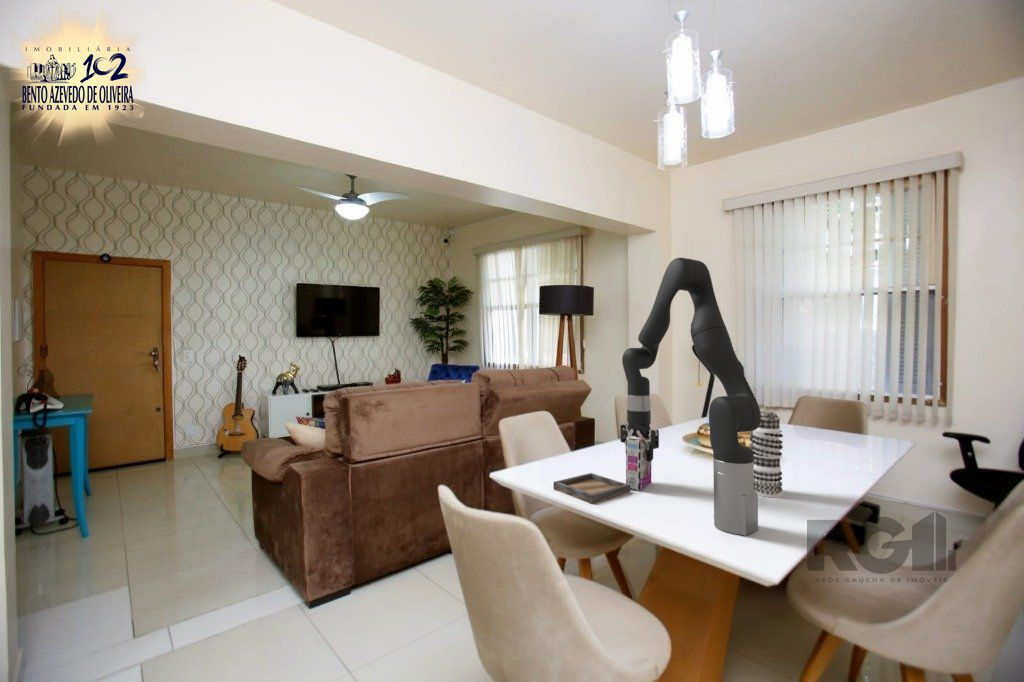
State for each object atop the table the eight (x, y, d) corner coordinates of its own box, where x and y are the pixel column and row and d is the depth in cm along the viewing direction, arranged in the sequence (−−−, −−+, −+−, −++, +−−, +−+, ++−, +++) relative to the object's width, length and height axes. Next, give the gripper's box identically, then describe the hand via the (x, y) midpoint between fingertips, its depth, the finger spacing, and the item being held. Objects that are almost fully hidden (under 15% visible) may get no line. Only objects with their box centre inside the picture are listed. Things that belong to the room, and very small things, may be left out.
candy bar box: (640, 492, 144) (640, 439, 144) (625, 489, 147) (625, 438, 147) (652, 483, 153) (652, 434, 153) (638, 480, 156) (637, 432, 156)
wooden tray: (630, 492, 143) (630, 485, 143) (591, 503, 133) (591, 496, 133) (591, 479, 157) (591, 472, 157) (553, 489, 147) (553, 481, 147)
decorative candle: (786, 492, 142) (785, 412, 143) (779, 499, 136) (778, 415, 136) (754, 486, 149) (753, 409, 149) (746, 493, 142) (745, 412, 142)
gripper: (664, 410, 146) (664, 461, 146) (629, 405, 158) (629, 452, 158) (649, 412, 142) (649, 465, 142) (614, 407, 153) (614, 456, 153)
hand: (639, 458), depth 150 cm, fingers open, 7 cm apart
